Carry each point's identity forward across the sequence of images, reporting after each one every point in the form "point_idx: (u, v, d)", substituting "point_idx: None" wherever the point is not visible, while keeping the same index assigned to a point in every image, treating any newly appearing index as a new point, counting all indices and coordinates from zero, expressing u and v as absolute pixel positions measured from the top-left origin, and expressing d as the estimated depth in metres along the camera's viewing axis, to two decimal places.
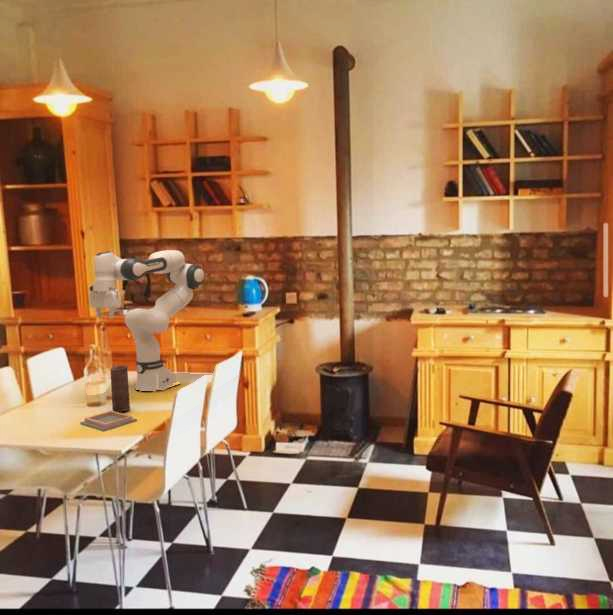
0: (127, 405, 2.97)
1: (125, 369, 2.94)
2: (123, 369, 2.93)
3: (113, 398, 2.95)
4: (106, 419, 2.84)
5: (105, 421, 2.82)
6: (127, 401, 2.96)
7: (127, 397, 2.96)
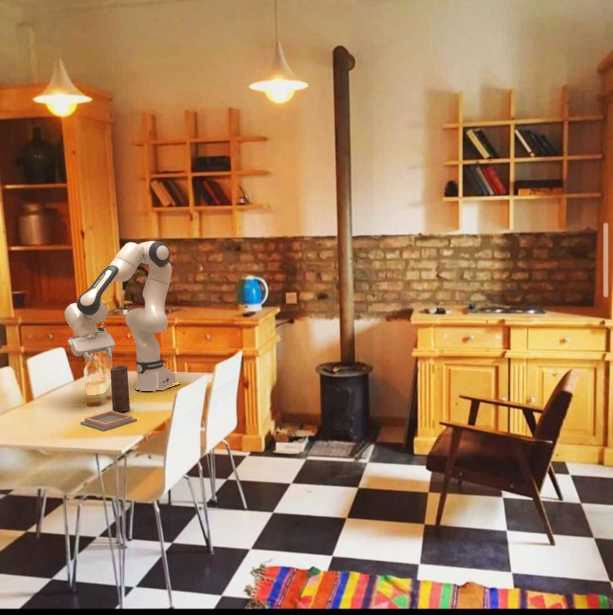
0: (127, 405, 2.97)
1: (125, 369, 2.94)
2: (123, 369, 2.93)
3: (113, 398, 2.95)
4: (106, 419, 2.84)
5: (105, 421, 2.82)
6: (127, 401, 2.96)
7: (127, 397, 2.96)
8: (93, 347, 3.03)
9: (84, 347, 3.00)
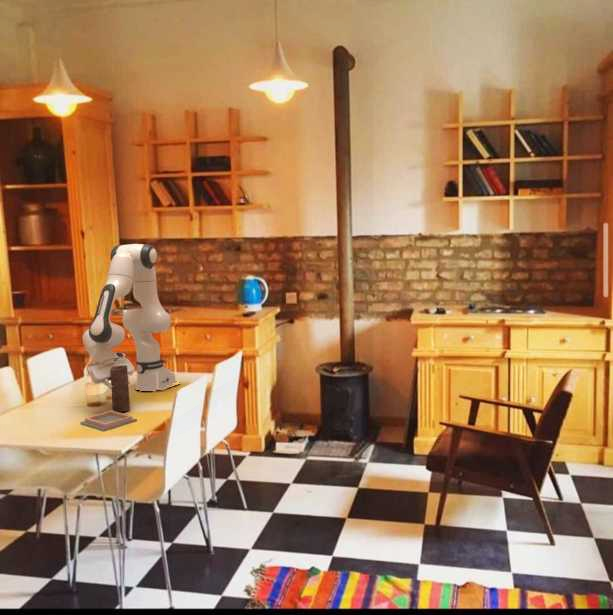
0: (127, 405, 2.97)
1: (125, 369, 2.94)
2: (123, 369, 2.93)
3: (113, 398, 2.95)
4: (106, 419, 2.84)
5: (105, 421, 2.82)
6: (127, 401, 2.96)
7: (127, 397, 2.96)
8: None
9: (104, 374, 2.93)
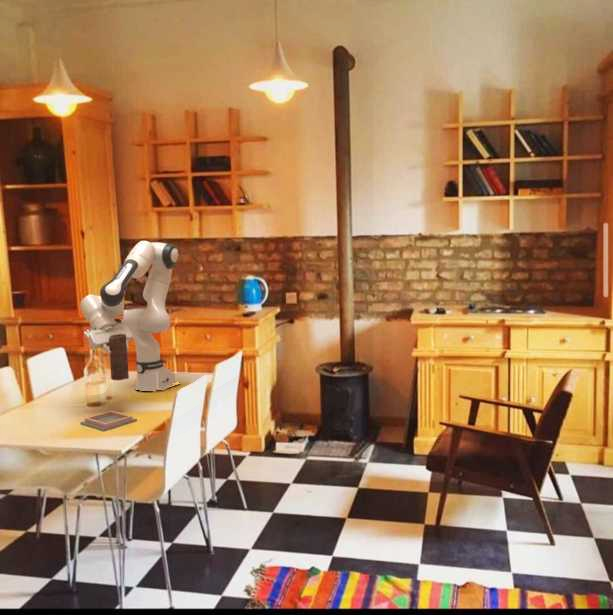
0: (126, 374, 2.95)
1: (124, 338, 2.92)
2: (122, 337, 2.91)
3: (112, 367, 2.93)
4: (106, 419, 2.84)
5: (105, 421, 2.82)
6: (126, 370, 2.95)
7: (126, 366, 2.95)
8: None
9: (102, 340, 2.91)
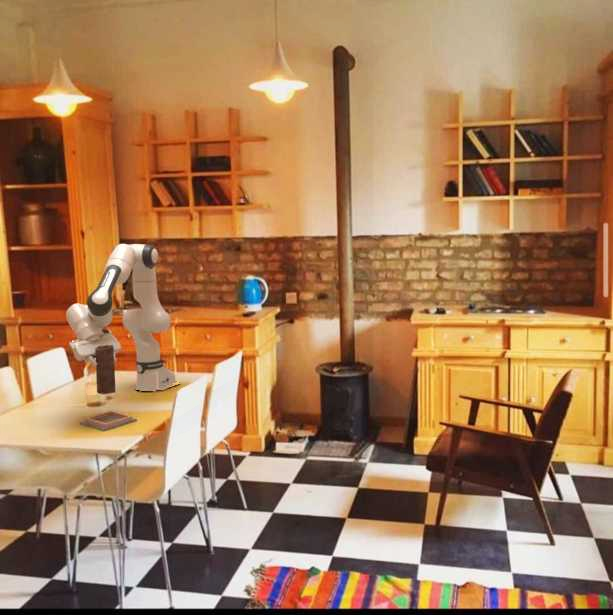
0: (113, 387, 2.79)
1: (111, 349, 2.77)
2: (109, 349, 2.76)
3: (98, 380, 2.78)
4: (106, 419, 2.84)
5: (105, 421, 2.82)
6: (113, 383, 2.79)
7: (113, 379, 2.79)
8: None
9: (88, 351, 2.76)
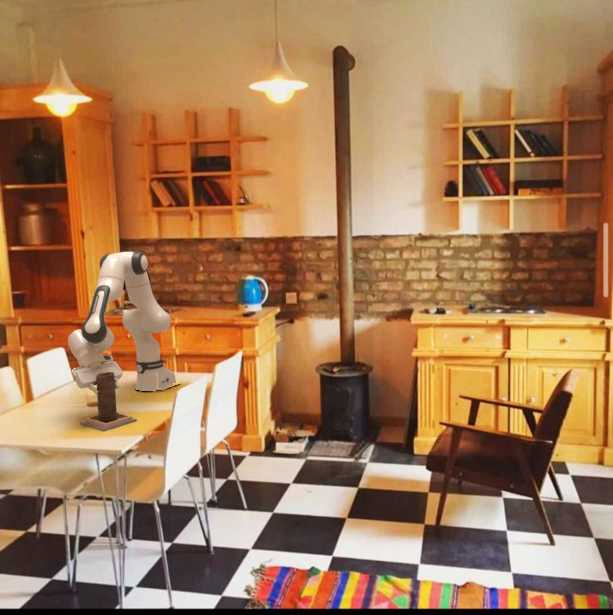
0: (114, 414, 2.81)
1: (112, 376, 2.78)
2: (110, 376, 2.77)
3: (99, 407, 2.79)
4: None
5: (105, 421, 2.82)
6: (114, 410, 2.81)
7: (114, 406, 2.81)
8: None
9: (90, 378, 2.77)
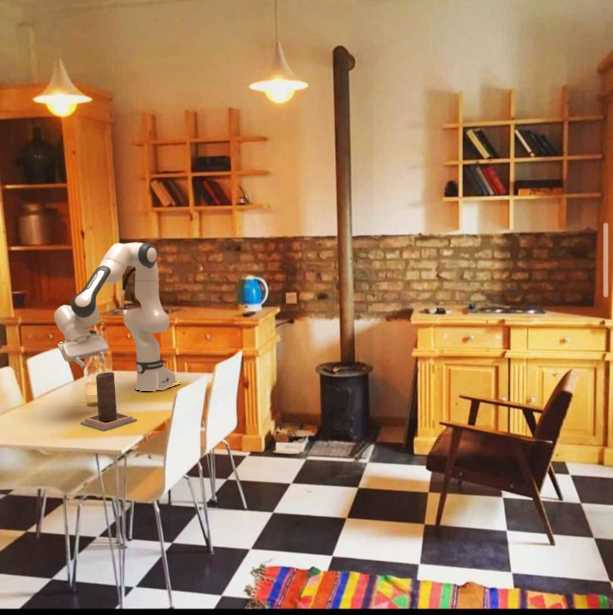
0: (114, 414, 2.81)
1: (112, 376, 2.79)
2: (109, 376, 2.78)
3: (99, 407, 2.79)
4: None
5: (105, 421, 2.82)
6: (114, 410, 2.81)
7: (114, 406, 2.81)
8: (85, 351, 2.87)
9: (76, 352, 2.84)
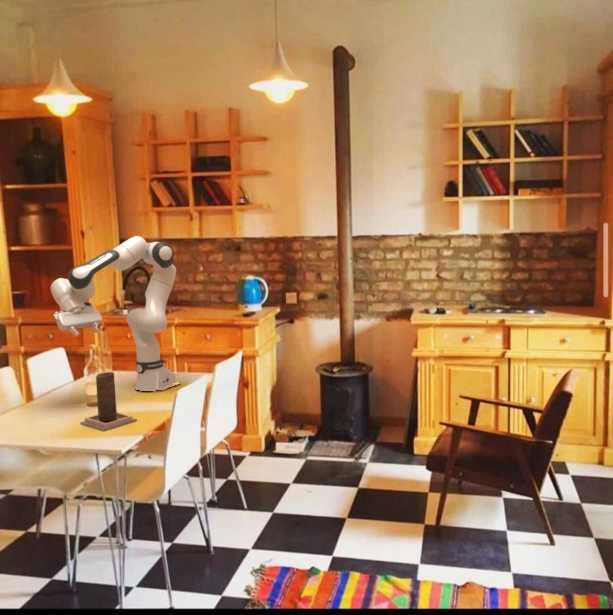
0: (114, 414, 2.81)
1: (112, 376, 2.79)
2: (109, 376, 2.78)
3: (99, 407, 2.79)
4: None
5: (105, 421, 2.82)
6: (114, 410, 2.81)
7: (114, 406, 2.81)
8: (79, 321, 3.00)
9: (70, 321, 2.97)
